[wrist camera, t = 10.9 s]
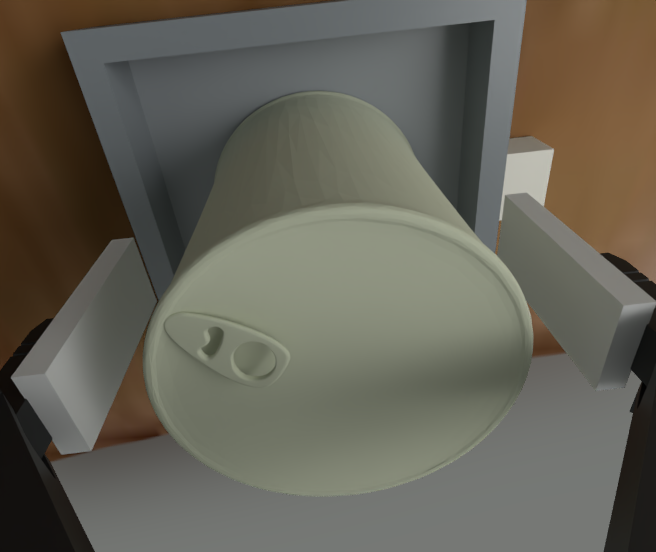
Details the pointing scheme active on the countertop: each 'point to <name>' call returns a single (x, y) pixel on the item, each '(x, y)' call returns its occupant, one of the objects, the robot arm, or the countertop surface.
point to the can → (332, 312)
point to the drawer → (301, 76)
